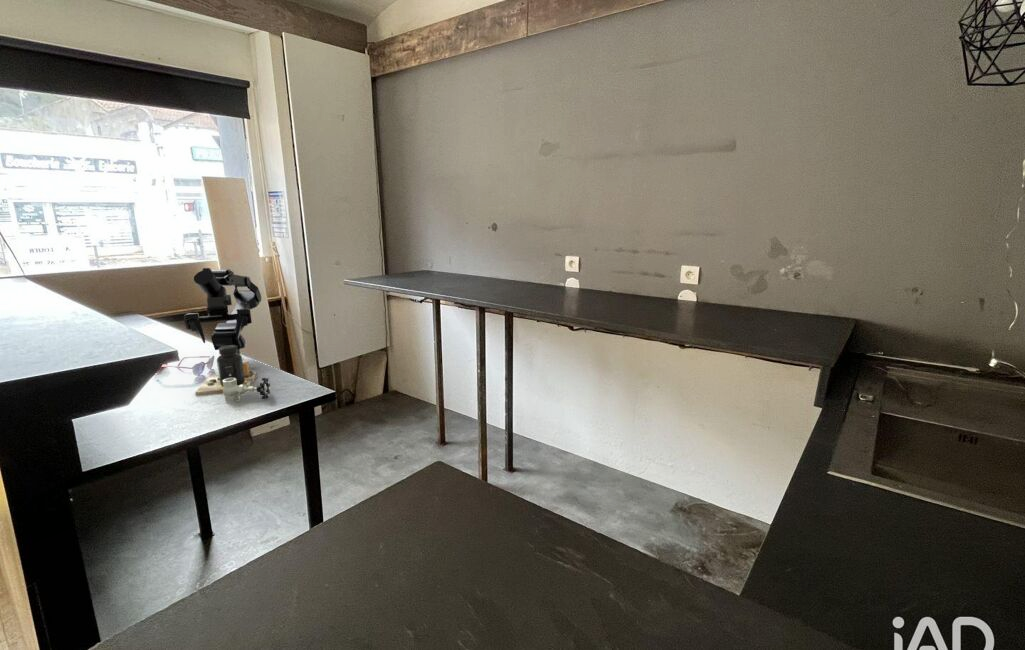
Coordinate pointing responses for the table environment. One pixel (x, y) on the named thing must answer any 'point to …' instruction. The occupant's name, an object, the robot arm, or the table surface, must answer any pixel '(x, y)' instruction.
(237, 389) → the valve
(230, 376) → the supplement bottle
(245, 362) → the orange rectangular block
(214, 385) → the panel
